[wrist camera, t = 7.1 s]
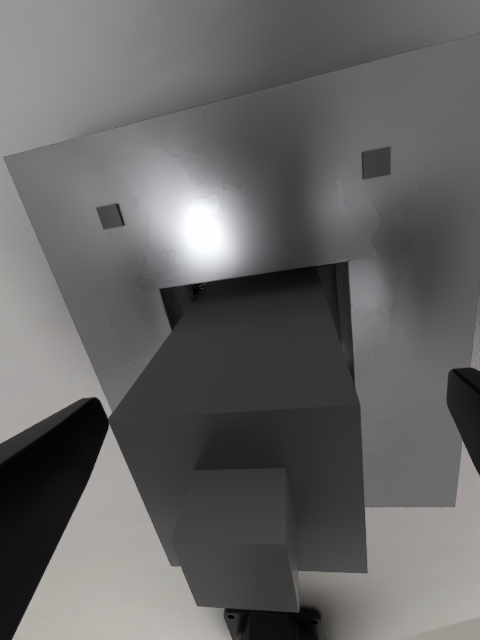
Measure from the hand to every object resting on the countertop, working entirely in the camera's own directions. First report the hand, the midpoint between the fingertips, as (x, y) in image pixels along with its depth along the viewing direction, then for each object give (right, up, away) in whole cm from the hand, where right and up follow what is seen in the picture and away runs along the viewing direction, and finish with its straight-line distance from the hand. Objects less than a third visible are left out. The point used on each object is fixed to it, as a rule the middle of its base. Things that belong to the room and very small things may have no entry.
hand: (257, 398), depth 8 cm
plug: (+1, +2, +5) cm, 5 cm away
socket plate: (+1, +2, +5) cm, 5 cm away
